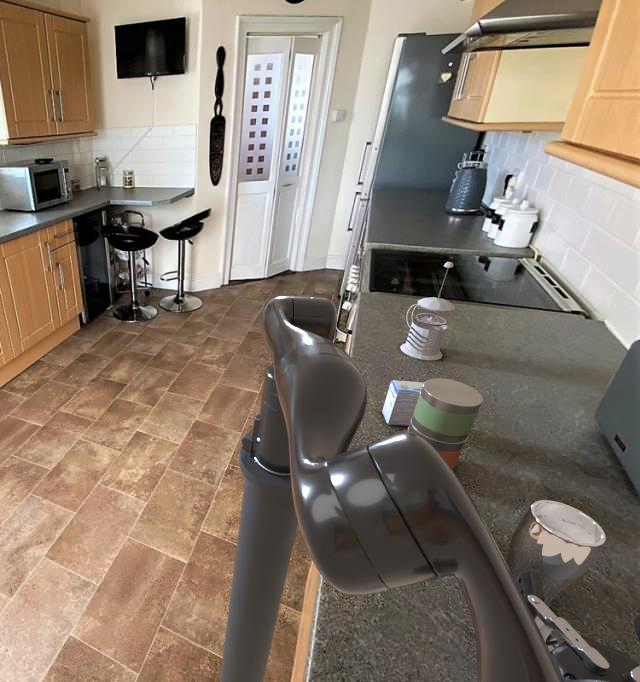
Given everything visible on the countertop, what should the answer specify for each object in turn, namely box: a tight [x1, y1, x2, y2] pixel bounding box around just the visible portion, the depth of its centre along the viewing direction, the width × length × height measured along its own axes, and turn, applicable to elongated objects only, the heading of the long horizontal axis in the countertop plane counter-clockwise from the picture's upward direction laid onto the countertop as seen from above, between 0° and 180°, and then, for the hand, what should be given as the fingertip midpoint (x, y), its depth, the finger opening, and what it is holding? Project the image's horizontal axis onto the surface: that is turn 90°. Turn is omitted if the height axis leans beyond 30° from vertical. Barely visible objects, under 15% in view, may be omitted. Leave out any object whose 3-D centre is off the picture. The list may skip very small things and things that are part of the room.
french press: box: [399, 261, 456, 361], centre depth 112 cm, size 10×12×25 cm
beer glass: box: [505, 499, 607, 621], centre depth 55 cm, size 7×7×15 cm
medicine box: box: [382, 379, 424, 427], centre depth 89 cm, size 8×4×9 cm, turn 77°
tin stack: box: [406, 377, 484, 470], centre depth 77 cm, size 9×9×16 cm
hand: (583, 594), depth 44 cm, fingers open, 8 cm apart
